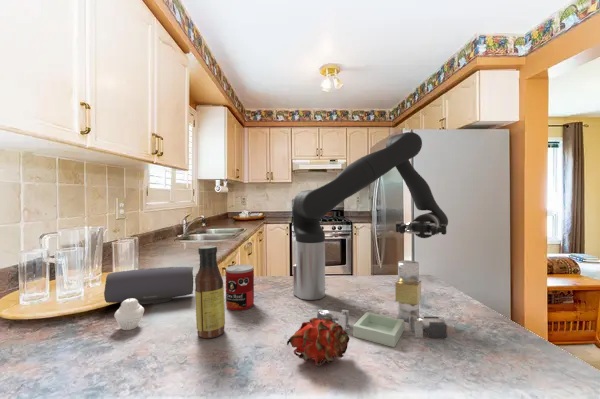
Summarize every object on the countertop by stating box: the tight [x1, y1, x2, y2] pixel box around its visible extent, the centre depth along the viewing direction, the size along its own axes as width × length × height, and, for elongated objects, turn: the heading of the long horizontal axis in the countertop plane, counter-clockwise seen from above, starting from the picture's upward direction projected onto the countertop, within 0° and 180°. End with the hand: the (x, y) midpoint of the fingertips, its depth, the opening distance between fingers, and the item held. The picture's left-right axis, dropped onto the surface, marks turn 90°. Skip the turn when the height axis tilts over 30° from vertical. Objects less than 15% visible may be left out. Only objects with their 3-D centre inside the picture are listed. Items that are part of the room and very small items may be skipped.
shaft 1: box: [316, 307, 350, 332], centre depth 70 cm, size 7×4×3 cm, turn 68°
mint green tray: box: [352, 311, 405, 348], centre depth 66 cm, size 9×9×2 cm
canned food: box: [225, 264, 255, 312], centre depth 83 cm, size 8×8×11 cm
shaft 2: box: [408, 315, 448, 340], centre depth 65 cm, size 7×4×3 cm, turn 88°
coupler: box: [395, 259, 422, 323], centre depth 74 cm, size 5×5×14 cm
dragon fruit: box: [286, 317, 351, 367], centre depth 55 cm, size 8×8×12 cm
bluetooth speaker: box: [103, 266, 194, 305], centre depth 87 cm, size 23×9×10 cm, turn 108°
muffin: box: [113, 298, 145, 331], centre depth 69 cm, size 6×6×7 cm
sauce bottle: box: [194, 245, 226, 339], centre depth 66 cm, size 6×6×20 cm
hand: (416, 230), depth 83 cm, fingers open, 8 cm apart
